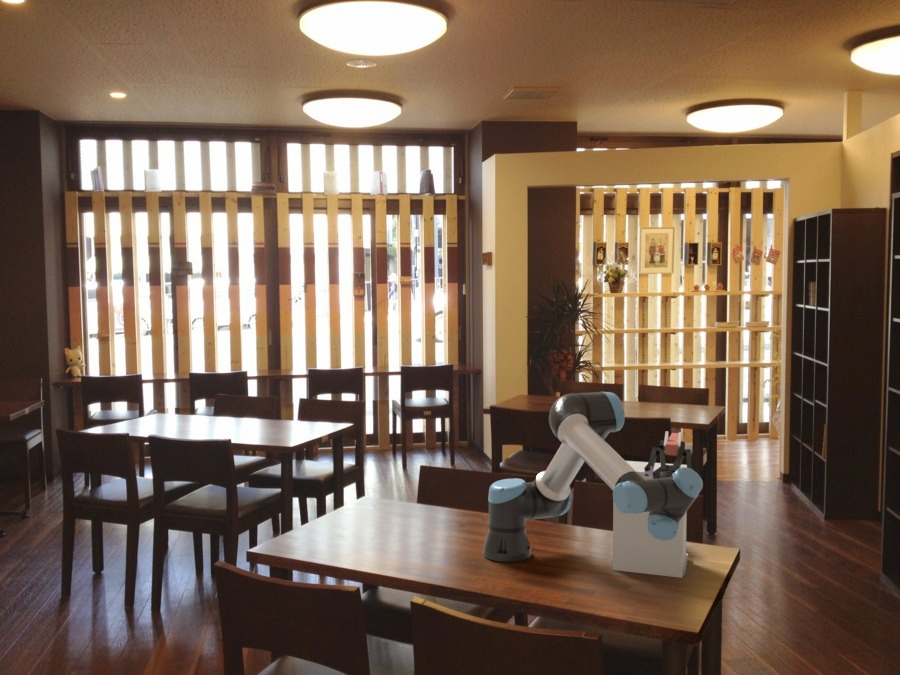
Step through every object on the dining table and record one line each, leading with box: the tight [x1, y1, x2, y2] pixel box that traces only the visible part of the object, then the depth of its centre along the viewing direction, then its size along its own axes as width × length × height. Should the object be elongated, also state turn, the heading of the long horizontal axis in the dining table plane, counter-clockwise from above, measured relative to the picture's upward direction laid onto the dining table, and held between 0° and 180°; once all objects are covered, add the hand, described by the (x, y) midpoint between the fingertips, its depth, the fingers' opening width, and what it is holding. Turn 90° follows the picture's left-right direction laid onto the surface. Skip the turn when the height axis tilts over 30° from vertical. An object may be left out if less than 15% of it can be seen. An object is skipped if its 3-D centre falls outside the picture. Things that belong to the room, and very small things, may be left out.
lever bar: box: [664, 432, 679, 457], centre depth 234 cm, size 22×3×3 cm, turn 160°
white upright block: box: [611, 460, 689, 579], centre depth 243 cm, size 18×21×30 cm
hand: (673, 435), depth 231 cm, fingers closed on lever bar, 3 cm apart
